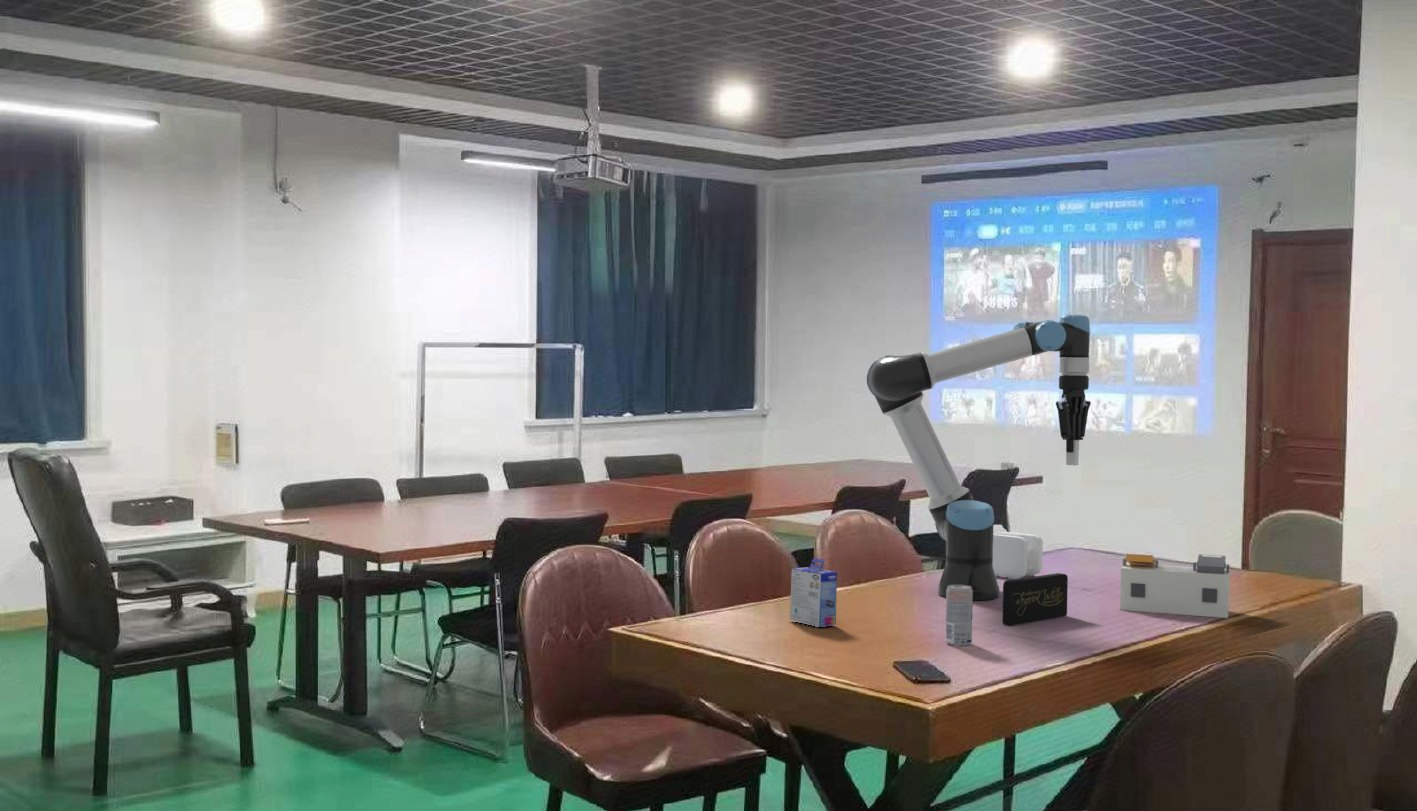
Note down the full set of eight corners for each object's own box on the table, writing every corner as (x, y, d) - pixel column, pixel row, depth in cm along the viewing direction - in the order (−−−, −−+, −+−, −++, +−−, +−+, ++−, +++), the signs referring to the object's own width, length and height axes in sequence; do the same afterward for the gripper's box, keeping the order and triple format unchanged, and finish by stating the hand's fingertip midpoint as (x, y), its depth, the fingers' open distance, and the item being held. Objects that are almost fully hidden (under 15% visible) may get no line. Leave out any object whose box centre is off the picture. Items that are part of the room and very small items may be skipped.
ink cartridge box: (837, 626, 300) (838, 561, 300) (819, 629, 297) (820, 563, 296) (806, 619, 308) (807, 555, 308) (789, 622, 304) (789, 557, 304)
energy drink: (968, 641, 285) (969, 584, 285) (974, 646, 280) (975, 588, 280) (943, 641, 285) (944, 584, 285) (948, 646, 280) (949, 588, 280)
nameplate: (1009, 626, 303) (1009, 582, 302) (1002, 625, 304) (1003, 580, 304) (1067, 616, 316) (1067, 573, 315) (1060, 615, 317) (1061, 572, 317)
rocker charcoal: (1197, 560, 326) (1197, 553, 326) (1226, 562, 323) (1226, 555, 323) (1195, 571, 319) (1195, 565, 318) (1225, 573, 316) (1225, 566, 316)
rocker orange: (1128, 563, 332) (1128, 556, 332) (1155, 565, 329) (1156, 558, 330) (1125, 560, 325) (1125, 553, 325) (1153, 562, 322) (1153, 554, 322)
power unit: (1124, 603, 334) (1125, 555, 333) (1228, 610, 324) (1230, 562, 324) (1120, 609, 324) (1121, 561, 324) (1227, 618, 315) (1228, 568, 314)
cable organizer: (976, 574, 377) (976, 532, 377) (996, 570, 385) (997, 529, 385) (1023, 581, 367) (1024, 538, 367) (1043, 576, 375) (1044, 534, 374)
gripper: (1075, 374, 360) (1073, 463, 361) (1047, 374, 352) (1045, 465, 352) (1100, 374, 355) (1098, 464, 355) (1072, 374, 346) (1070, 466, 347)
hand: (1072, 464), depth 354 cm, fingers closed
